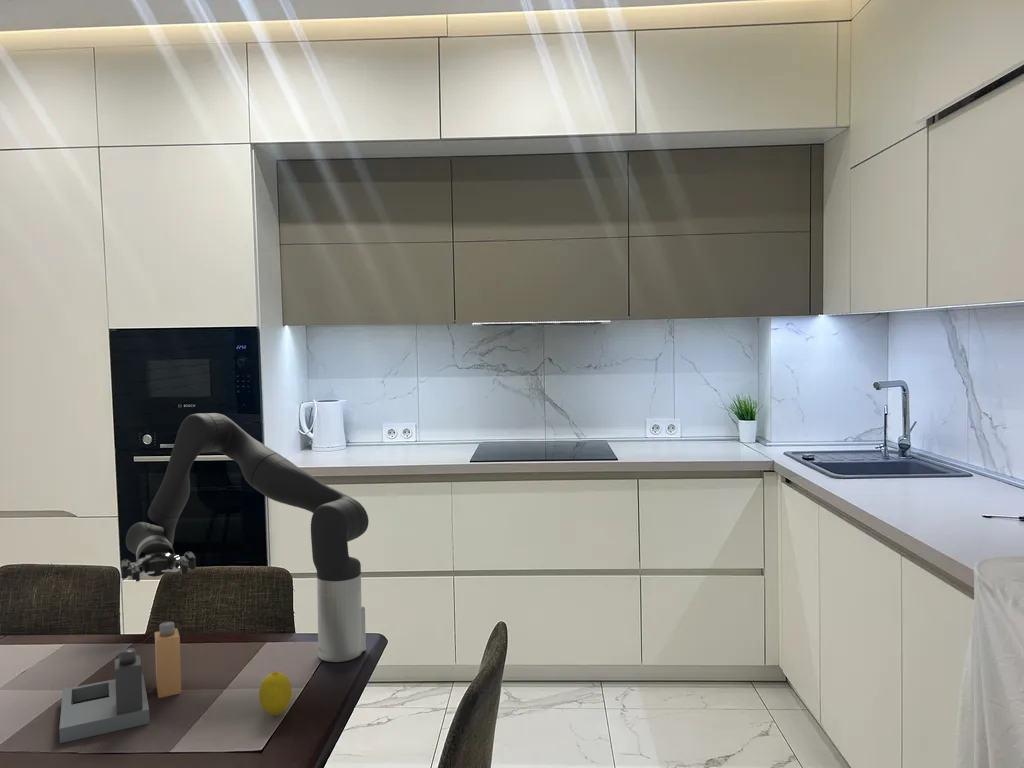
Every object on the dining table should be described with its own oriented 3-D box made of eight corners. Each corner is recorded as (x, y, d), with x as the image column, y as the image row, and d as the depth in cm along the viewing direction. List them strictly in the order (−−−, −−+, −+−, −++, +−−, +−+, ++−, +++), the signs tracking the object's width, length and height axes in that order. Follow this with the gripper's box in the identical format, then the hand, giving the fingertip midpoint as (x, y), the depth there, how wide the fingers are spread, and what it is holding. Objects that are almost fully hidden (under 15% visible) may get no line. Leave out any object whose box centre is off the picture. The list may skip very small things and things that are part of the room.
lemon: (295, 707, 137) (294, 664, 137) (287, 722, 131) (286, 677, 131) (265, 708, 137) (264, 665, 136) (255, 723, 131) (254, 678, 131)
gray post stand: (143, 686, 146) (141, 623, 146) (149, 723, 132) (147, 653, 131) (63, 702, 140) (61, 636, 139) (59, 743, 125) (57, 669, 124)
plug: (178, 683, 148) (176, 618, 147) (181, 693, 143) (179, 626, 143) (156, 687, 146) (154, 622, 145) (158, 698, 141) (156, 630, 141)
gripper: (118, 542, 164) (121, 560, 150) (189, 534, 171) (198, 550, 157) (119, 576, 164) (122, 597, 150) (190, 567, 171) (199, 585, 157)
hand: (161, 573), depth 153 cm, fingers open, 8 cm apart
